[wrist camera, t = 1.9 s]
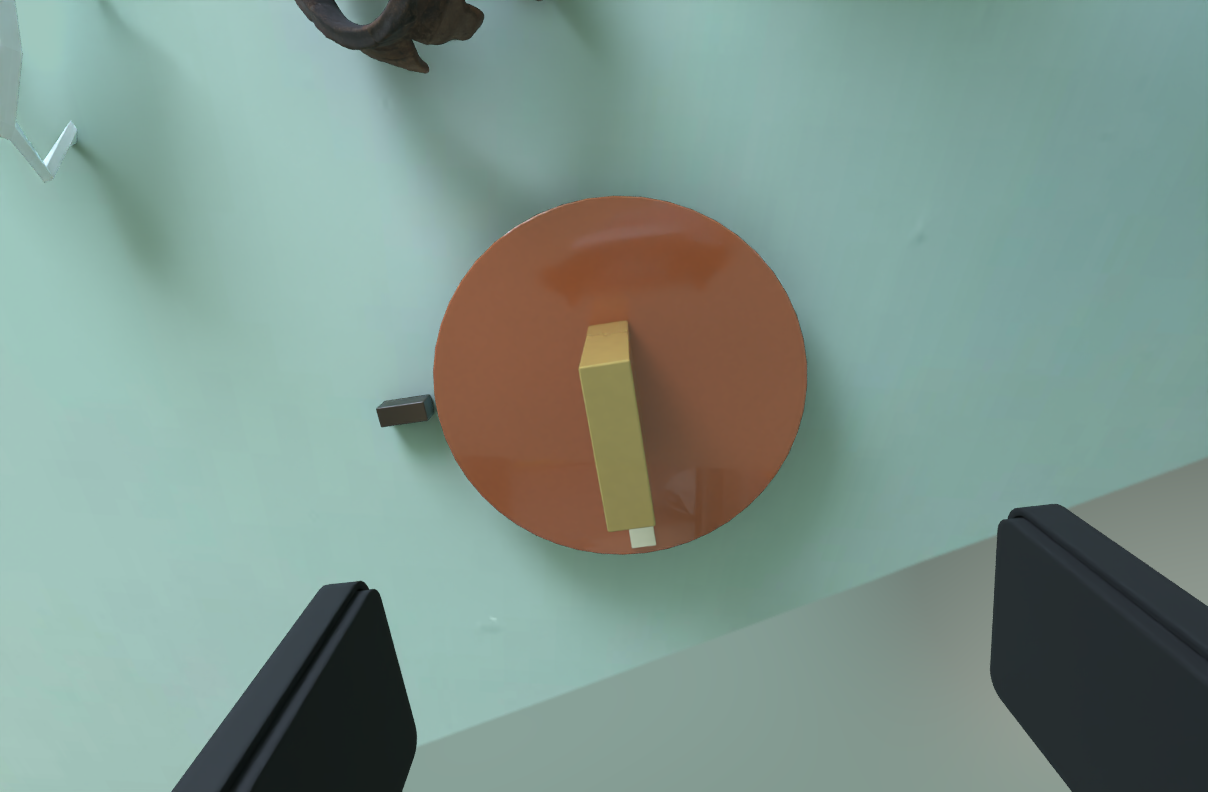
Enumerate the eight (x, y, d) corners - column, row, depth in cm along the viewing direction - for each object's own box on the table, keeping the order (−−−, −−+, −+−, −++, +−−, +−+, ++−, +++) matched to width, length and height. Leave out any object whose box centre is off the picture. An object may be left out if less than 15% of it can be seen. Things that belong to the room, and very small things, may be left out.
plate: (789, 164, 27) (851, 155, 20) (815, 524, 32) (872, 623, 25) (396, 230, 28) (318, 246, 21) (480, 567, 33) (441, 674, 26)
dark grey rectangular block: (709, 257, 30) (713, 260, 29) (731, 454, 33) (736, 466, 32) (359, 313, 31) (346, 319, 30) (411, 498, 34) (401, 513, 33)
